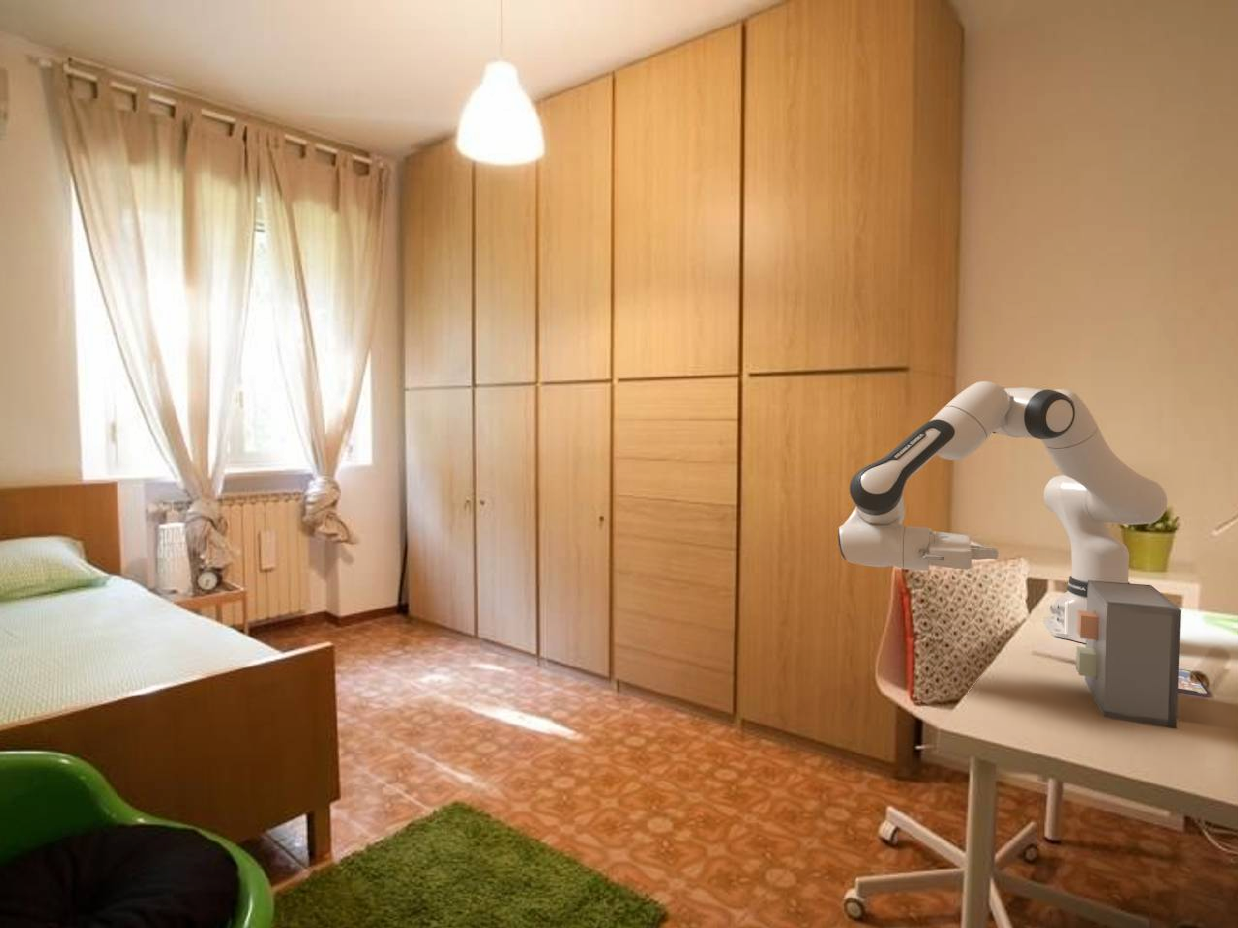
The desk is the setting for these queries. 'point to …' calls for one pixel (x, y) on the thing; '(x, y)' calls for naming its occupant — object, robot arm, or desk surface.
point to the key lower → (1086, 661)
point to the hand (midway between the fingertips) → (997, 553)
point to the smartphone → (1190, 685)
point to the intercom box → (1135, 653)
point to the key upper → (1087, 624)
